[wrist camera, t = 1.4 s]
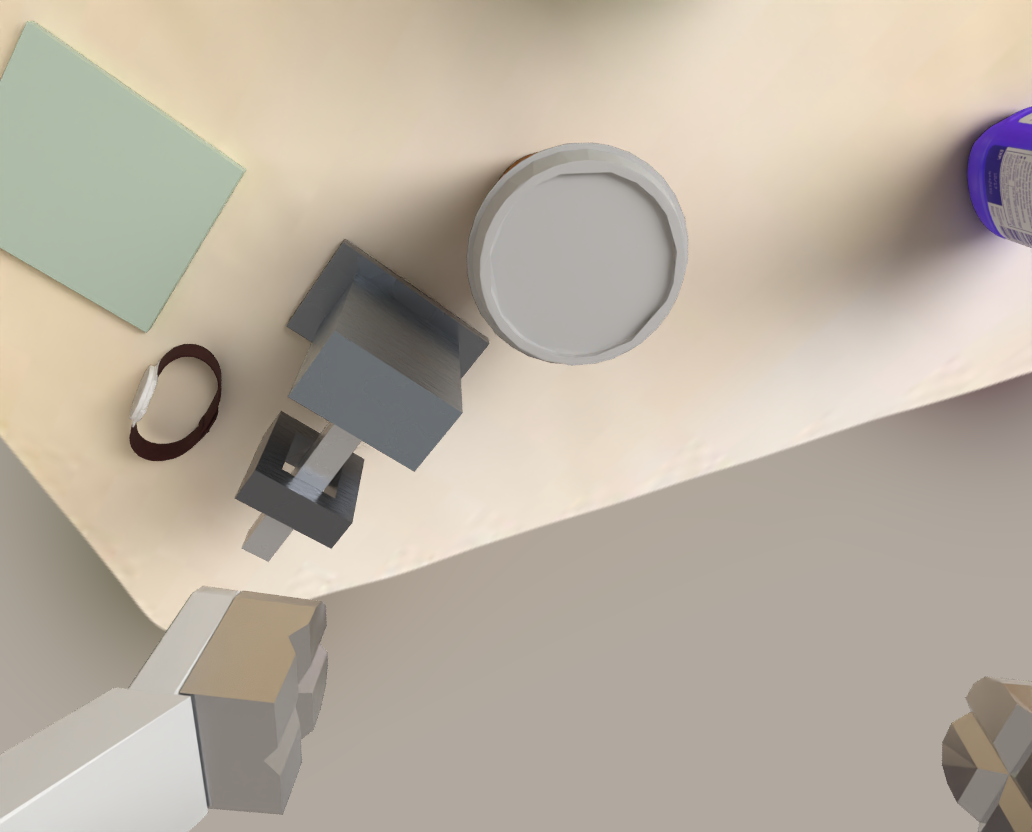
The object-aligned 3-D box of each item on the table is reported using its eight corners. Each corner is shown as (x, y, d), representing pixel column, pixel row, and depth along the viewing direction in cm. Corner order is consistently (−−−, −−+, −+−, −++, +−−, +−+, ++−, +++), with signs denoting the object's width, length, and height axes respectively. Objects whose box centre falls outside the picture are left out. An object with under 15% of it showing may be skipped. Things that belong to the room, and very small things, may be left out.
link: (263, 436, 41) (234, 498, 36) (281, 411, 41) (255, 470, 35) (346, 482, 43) (331, 548, 37) (364, 459, 43) (352, 522, 37)
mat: (-53, 210, 37) (-60, 213, 37) (33, 21, 34) (27, 21, 33) (150, 329, 41) (146, 332, 41) (246, 169, 38) (243, 171, 37)
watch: (168, 322, 41) (145, 345, 38) (247, 361, 43) (231, 386, 40) (121, 425, 44) (96, 455, 41) (196, 458, 45) (177, 489, 42)
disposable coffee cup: (500, 317, 43) (519, 406, 32) (432, 162, 38) (428, 206, 28) (651, 254, 42) (722, 325, 31) (599, 88, 37) (661, 105, 27)
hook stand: (213, 432, 44) (156, 528, 36) (344, 238, 40) (316, 293, 31) (352, 509, 48) (332, 613, 39) (488, 338, 43) (500, 414, 34)
